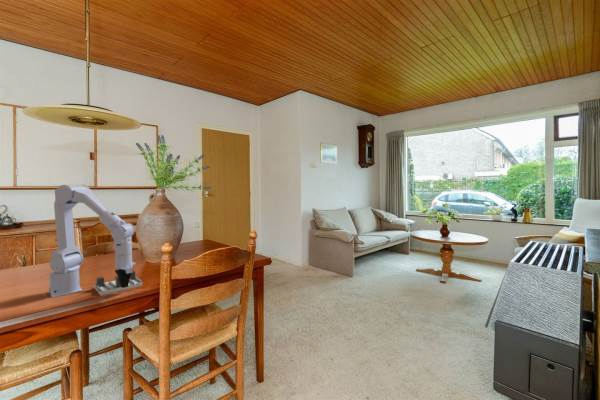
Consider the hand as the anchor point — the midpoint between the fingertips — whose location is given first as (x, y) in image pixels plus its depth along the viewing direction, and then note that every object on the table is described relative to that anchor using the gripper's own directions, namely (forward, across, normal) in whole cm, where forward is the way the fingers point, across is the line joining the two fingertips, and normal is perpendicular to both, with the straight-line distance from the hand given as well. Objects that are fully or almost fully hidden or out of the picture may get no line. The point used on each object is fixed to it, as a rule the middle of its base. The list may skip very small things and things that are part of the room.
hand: (124, 286), depth 112 cm
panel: (+2, +9, 0) cm, 9 cm away
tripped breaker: (+1, +6, 0) cm, 6 cm away
